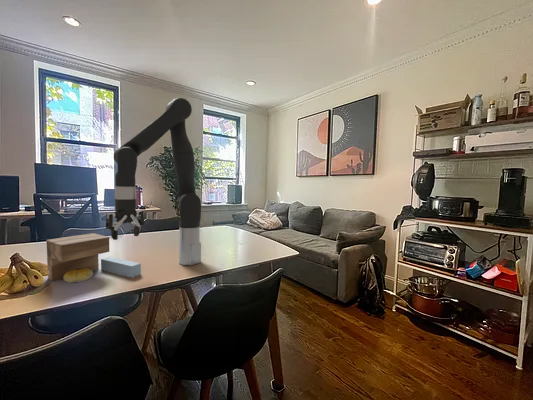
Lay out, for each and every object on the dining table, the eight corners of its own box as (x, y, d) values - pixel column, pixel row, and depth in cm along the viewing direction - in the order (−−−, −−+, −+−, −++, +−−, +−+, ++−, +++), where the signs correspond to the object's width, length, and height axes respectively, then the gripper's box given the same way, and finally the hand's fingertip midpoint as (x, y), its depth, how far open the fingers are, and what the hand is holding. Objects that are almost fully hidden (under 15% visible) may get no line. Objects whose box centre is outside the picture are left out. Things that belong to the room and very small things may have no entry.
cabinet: (110, 273, 103) (109, 237, 102) (62, 286, 89) (61, 245, 88) (94, 266, 109) (93, 233, 108) (47, 278, 96) (46, 240, 94)
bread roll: (68, 276, 99) (67, 266, 98) (94, 274, 102) (94, 264, 102) (59, 284, 91) (58, 274, 91) (88, 282, 94) (88, 271, 94)
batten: (140, 275, 102) (140, 263, 102) (132, 278, 98) (131, 266, 98) (110, 267, 110) (110, 256, 109) (101, 270, 106) (101, 259, 106)
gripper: (112, 199, 92) (112, 242, 93) (147, 197, 104) (147, 236, 105) (101, 198, 95) (102, 239, 97) (137, 196, 108) (137, 233, 109)
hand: (126, 237), depth 101 cm, fingers open, 8 cm apart
